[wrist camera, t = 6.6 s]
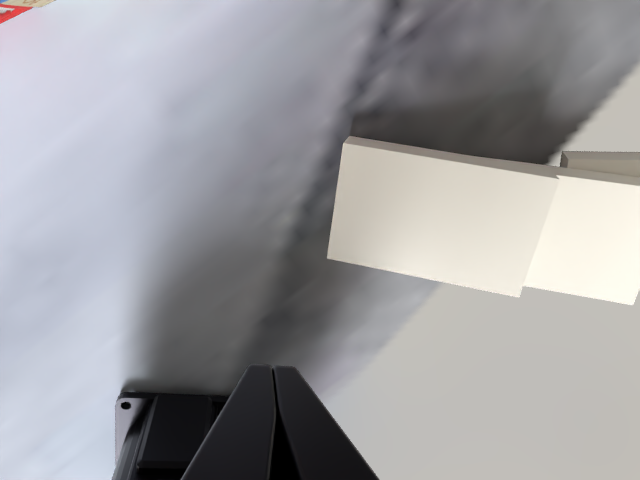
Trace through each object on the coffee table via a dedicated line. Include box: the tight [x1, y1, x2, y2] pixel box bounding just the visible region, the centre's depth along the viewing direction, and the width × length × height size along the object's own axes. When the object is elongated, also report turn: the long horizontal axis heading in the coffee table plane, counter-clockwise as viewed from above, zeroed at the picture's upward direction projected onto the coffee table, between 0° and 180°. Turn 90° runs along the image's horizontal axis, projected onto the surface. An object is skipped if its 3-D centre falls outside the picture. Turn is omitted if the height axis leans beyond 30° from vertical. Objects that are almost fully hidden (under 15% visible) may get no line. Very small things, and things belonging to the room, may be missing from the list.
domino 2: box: [469, 155, 640, 305], centre depth 20 cm, size 5×2×8 cm
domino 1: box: [327, 136, 560, 297], centre depth 19 cm, size 5×2×8 cm
